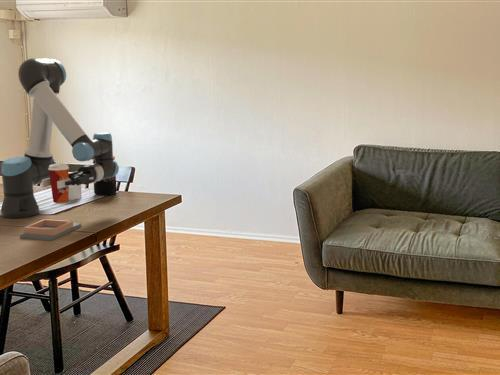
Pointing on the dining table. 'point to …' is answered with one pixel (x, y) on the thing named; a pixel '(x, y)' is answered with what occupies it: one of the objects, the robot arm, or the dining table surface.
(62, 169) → the paper cup
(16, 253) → the dining table surface
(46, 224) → the cup stand
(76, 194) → the cylinder with rectangular tab
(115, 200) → the dining table surface
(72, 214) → the dining table surface
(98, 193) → the coffee jar
